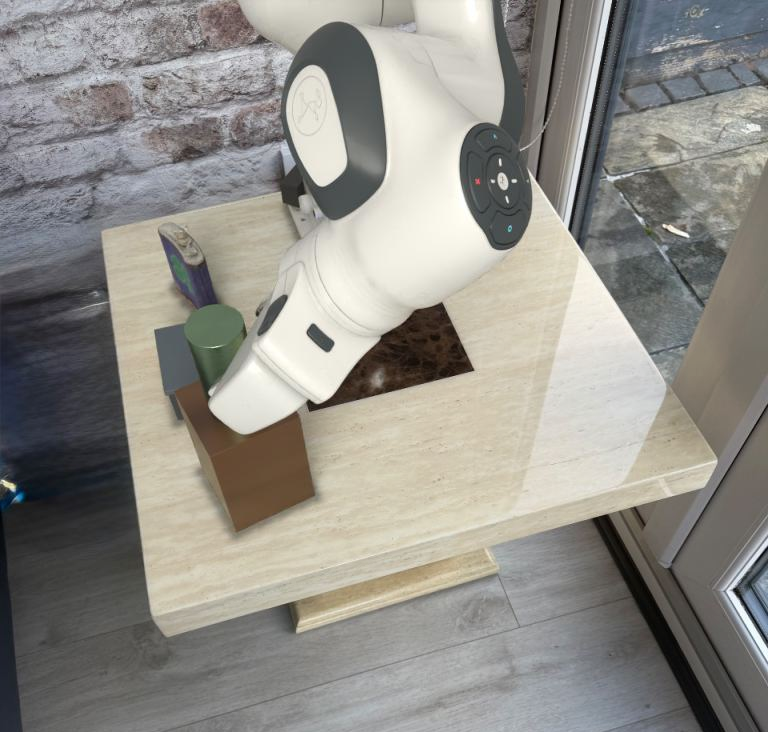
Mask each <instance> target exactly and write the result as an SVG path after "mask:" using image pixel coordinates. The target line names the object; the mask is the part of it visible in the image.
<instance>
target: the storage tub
mask: <svg viewBox="0 0 768 732" xmlns="http://www.w3.org/2000/svg"><path fill="white" fill-rule="evenodd" d="M184 325H185V322H183V323H179V324H174V325H170V326H165V327H160V328H159V327H158V328H155V329H153V332H154V333H153V334H154V339H155V345H156V351H157V358H158V364H159V370H160V377H161V383H162V389H163V393H164V396H165V397H167V396H168V397H169V398H168V399H169V400H170V402H171V406H172V408H173V410H174V413H175V416H176V419H177V420H178V421H181V420H182V421H183V420H184V418H183V415H182V413H181V410H180V407H179V404H178V402H177V399H176V396H175V394H174V390H177V389H179V388H182V387H184V386H186V385H189V384H191V383H194V382H196V381H198V380H199V377H198V374H197V370H196V367H195V364H194V361H193V358H192V355H191V352H190V349H189V346H188V343H187V340H186V337H185V333H184Z"/></svg>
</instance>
